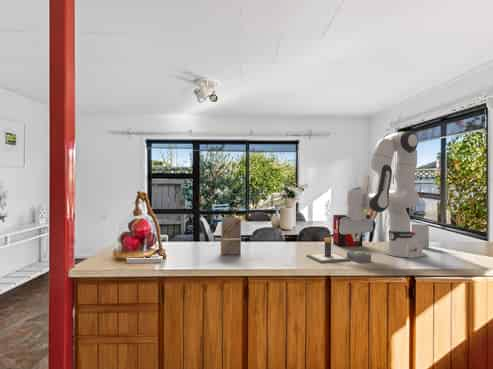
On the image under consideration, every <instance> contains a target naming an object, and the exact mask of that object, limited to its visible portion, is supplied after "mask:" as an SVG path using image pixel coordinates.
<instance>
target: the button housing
mask: <svg viewBox="0 0 493 369" xmlns="http://www.w3.org/2000/svg"><path fill="white" fill-rule="evenodd" d="M354 252H355V251H347V252H346V258H349V259H350V261H353V262H356V263H361V262H363V263H364V262H371V261H372V254H370V253H367V252H364V251H361V250H360V251H356V252H363V254H362V255H356V254H354Z"/></svg>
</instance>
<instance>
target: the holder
mask: <svg viewBox="0 0 493 369" xmlns="http://www.w3.org/2000/svg"><path fill="white" fill-rule="evenodd" d="M125 260H126V264H153V263H154V264H158V263H159V262H161V263H163V261H164V260H163V256H159V255H158V254H156V255H152V256H151V257H150V258H145V257H144V258H128V257H127V258H126V259H125ZM155 262H156V263H155ZM157 262H158V263H157ZM159 264H160V263H159Z"/></svg>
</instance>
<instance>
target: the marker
mask: <svg viewBox="0 0 493 369" xmlns="http://www.w3.org/2000/svg"><path fill="white" fill-rule="evenodd" d="M332 240H333V237H332V238H331V237H325V238H324V254H325V257H331V253H332Z"/></svg>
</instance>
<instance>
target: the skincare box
mask: <svg viewBox="0 0 493 369" xmlns="http://www.w3.org/2000/svg"><path fill="white" fill-rule="evenodd" d="M411 232H416V235H412V236H413V238H414V239H415V240H416V241H417V242H419V243H420V244H421V246H422V250H423V249H424V250H425V249H429V248H430V232H429V223H423V222H420V223H419V222H415V223H411Z"/></svg>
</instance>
